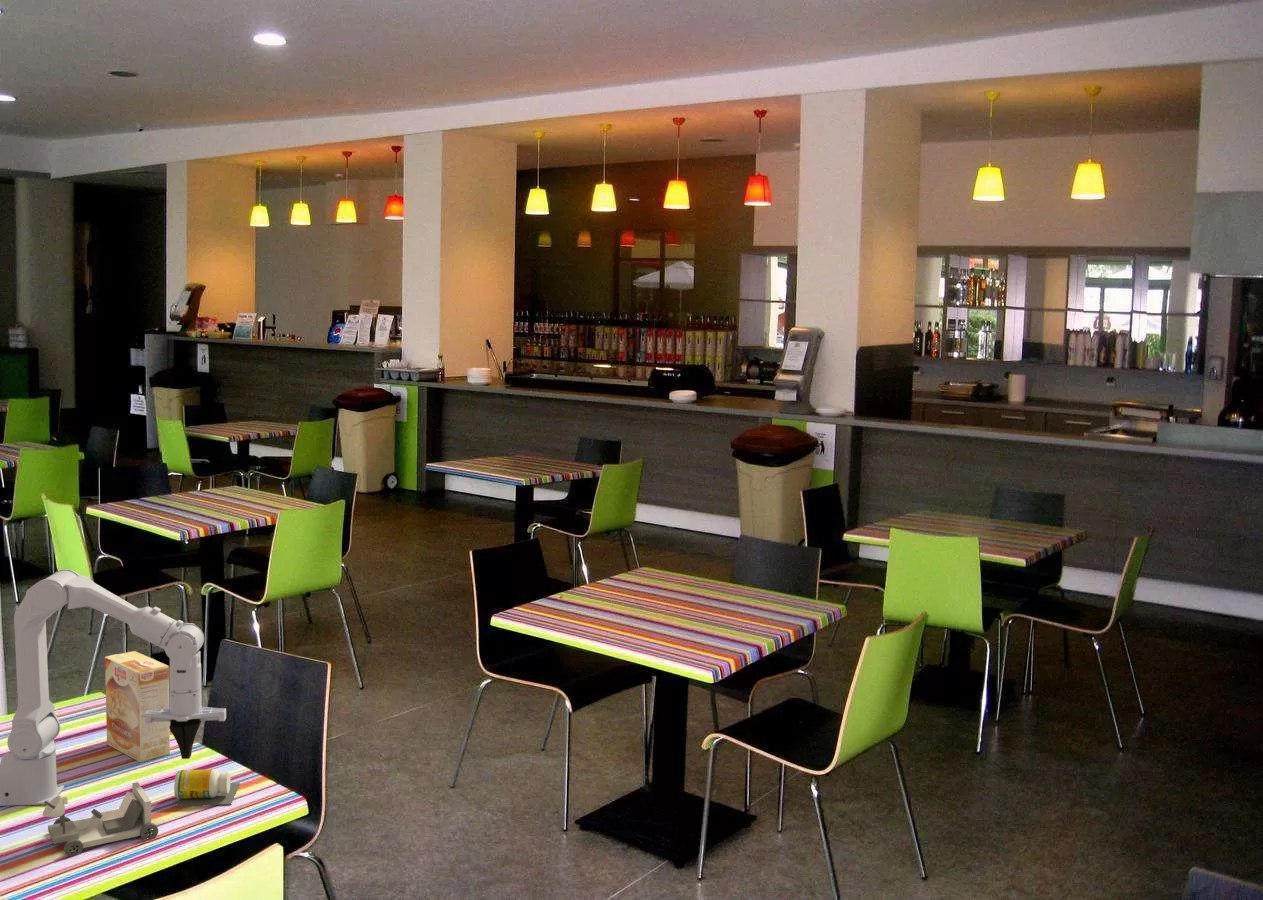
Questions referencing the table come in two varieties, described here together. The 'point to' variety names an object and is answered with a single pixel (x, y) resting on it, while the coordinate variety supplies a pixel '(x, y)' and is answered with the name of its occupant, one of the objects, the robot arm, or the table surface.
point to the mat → (218, 800)
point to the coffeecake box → (136, 705)
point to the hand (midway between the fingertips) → (186, 757)
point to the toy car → (102, 822)
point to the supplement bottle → (201, 783)
